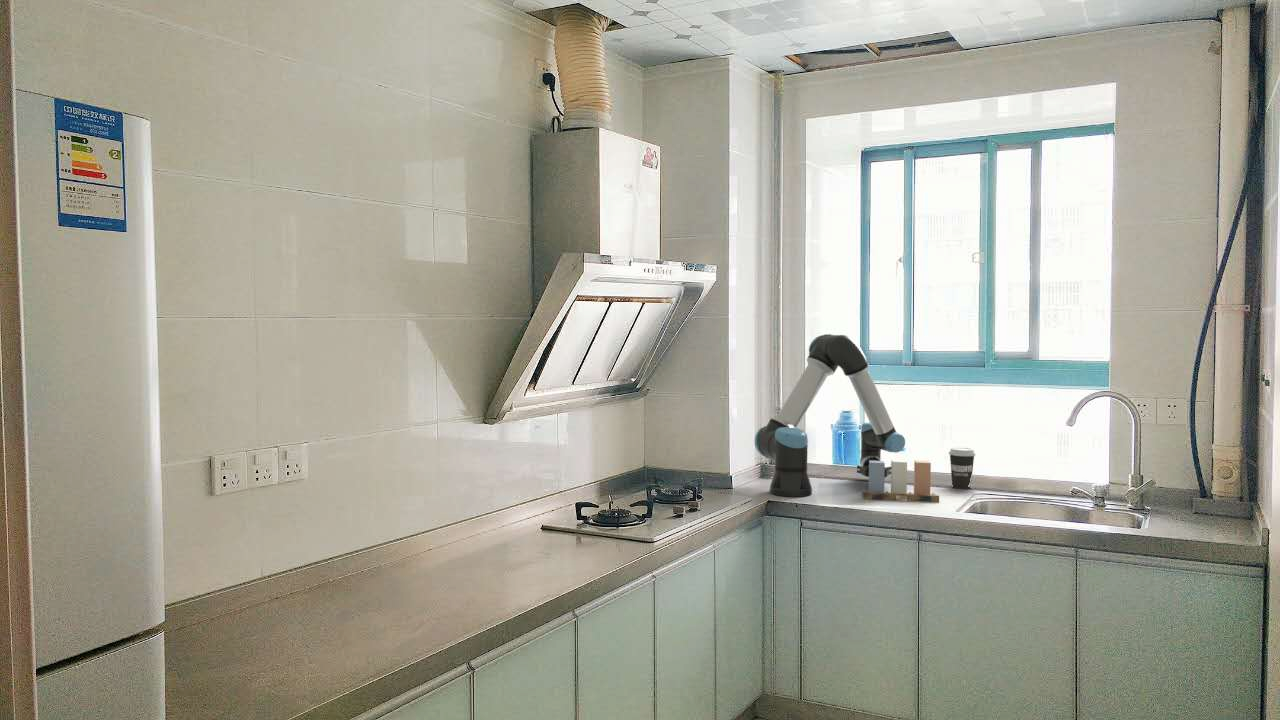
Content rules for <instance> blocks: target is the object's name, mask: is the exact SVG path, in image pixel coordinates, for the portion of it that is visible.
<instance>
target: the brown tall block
mask: <svg viewBox="0 0 1280 720" xmlns="http://www.w3.org/2000/svg"><path fill="white" fill-rule="evenodd" d="M913 462H914V464H913V465H914V466H913V470H914V471H913V493H914V494H922V495H930V494H931V479H932V478H931V471H932V470H931V469H932V466H931V465H932V464H931V463H932V462H930V461H929V460H919V459H918V460H916V459H914V461H913Z"/></svg>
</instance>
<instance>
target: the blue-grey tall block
mask: <svg viewBox="0 0 1280 720" xmlns="http://www.w3.org/2000/svg"><path fill="white" fill-rule="evenodd" d="M885 464H886V462H885V461H884V460H881V461H870V460H869V477H868V492H869V493H884V492H885V478H884V471H885V468H886V465H885Z"/></svg>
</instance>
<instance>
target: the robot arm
mask: <svg viewBox="0 0 1280 720" xmlns="http://www.w3.org/2000/svg"><path fill="white" fill-rule="evenodd" d="M808 352H809V353H808V356H807V358H806V361H807V366H806V367H805V369H804V371H803V373H802V374H801V375H800V377H799V379H798V381H797V383H796V384H795V385H794V387H793V389H792V390H791V393H790V394H789V396H788V397H787V399H786V401H785V402H784V404H783V405H782V407H781V409H780V411H779V412H778V414H777V415H776V416H775V417H772V418H770V419H769V421H768V423H767V424H766V426H765V425H764V426H763V427H761V428H759V429H758V430H757V431H756V433H755V436H754V447H755V449H756V451H757V452H758V453H759V454H760V455H761V456H762V457H765V458H766V459H770V460H774V472H773V476H772V479H771V482H770V486H769V493H770V494H771V493H772V495H774V494H775V495H776V496H779V495H780V496H779V497H789V498H790V497H792V498H793V497H794V498H795V497H798V498H799V497H807V496H811V495H812V493H813V488H812V484H811V481H810V480H811V479H810V477H809V475H808V444H809V439H808V433H807V431H805V430H803V429H802V428H798V426H799V425H800V423H801V421H802V419H803V418H804V416H805V414H806V413H807V411H808V410H809V408H810V406H811V405H812V403H813V401H814V399H815V398H816V396H817V395H818V393H819V392H820V389H821V388H822V387H823V385H824V383H825V381H826V379H828V378H827V377H829V376H833V375H834V374H835V372H836V370H837V369H838V368H840V369H841V370H842V371H843V374H844V376H846V377H848V379H849V380H850V383H851V384H852V387H853V390H854V391H855V393H856V395H857V397H858V400H859V401H860V404H861V406H862V408H863V411H864V412H865V415H866V417H867V419H868V421H869V422H863V423H862V424H861V431H860V442H861V443H860V446H861V447H860V448H861V449H860V459H859V461H860V462H859V463H860V465H856V473H858V474H860V475H862V476H864V477H867V478H869V460H870V461H882V460H881V459H882V458H881V456H882V455H881V454H882V453H881V450H882V451H886V452H888V453H894V454H895V453H900V452H901V451H903V450H904V448H905V446H906V439H905V437H904V436H903V434H901V433H899V432H897V431H896V428H895V426H894V424H893V422H892V420H891V417H890V415H889V412H888V410H887V408H886V406H885V404H884V402H883V399H882V398H881V395H880V393H879V391H878V388H877V387H876V384H875V381H874V380H873V377H872V375H871V373H870V371H869V367H870V364H869V362H868V358H867V357H866V355H865V353H864V351H863V350H862V348H861V346H860V345H859V344H858V342H856V341H855V339H853V338H852V337H850V336H848V335H844V334H839V335H838V334H837V335H836V334H827V333H826V334H822V335H818V336H817V337H816V336H815V338H814V339H813V340H811V342H810V345H808ZM889 475H891V466H885V471H884V479H885V478H887V477H889ZM775 495H774V496H775Z"/></svg>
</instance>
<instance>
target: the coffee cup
mask: <svg viewBox="0 0 1280 720" xmlns="http://www.w3.org/2000/svg"><path fill="white" fill-rule="evenodd" d="M948 455H949V458H950V460H949V461H950V473H951V486H952V485H953V487H952V488H957V489H968V488H967V487H968V485H969V483H970V478H971V475H972V476H973V469H974V463H975V462H974V461H975V456H976V452H975V451H974V448H969V447H958V446H957V447H951V448H950V450H949V452H948Z"/></svg>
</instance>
